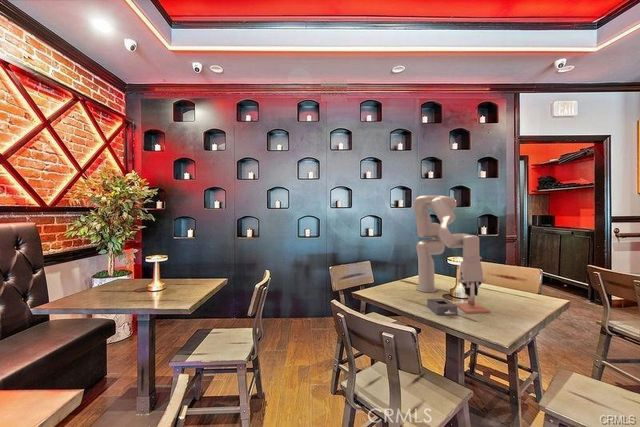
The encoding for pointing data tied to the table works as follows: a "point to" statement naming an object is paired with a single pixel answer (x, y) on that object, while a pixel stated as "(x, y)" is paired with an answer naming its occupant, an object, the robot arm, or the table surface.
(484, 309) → the terracotta mat
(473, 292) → the steel peg
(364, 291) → the table surface
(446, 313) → the vise block
